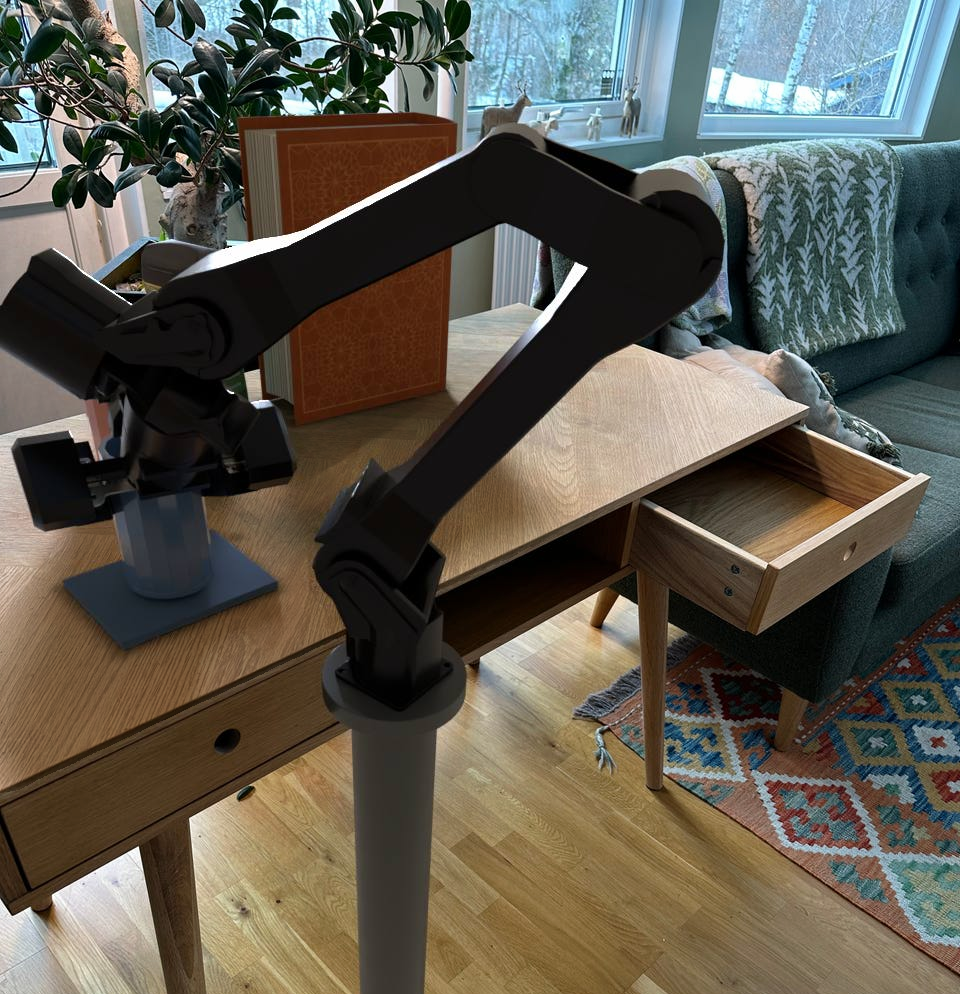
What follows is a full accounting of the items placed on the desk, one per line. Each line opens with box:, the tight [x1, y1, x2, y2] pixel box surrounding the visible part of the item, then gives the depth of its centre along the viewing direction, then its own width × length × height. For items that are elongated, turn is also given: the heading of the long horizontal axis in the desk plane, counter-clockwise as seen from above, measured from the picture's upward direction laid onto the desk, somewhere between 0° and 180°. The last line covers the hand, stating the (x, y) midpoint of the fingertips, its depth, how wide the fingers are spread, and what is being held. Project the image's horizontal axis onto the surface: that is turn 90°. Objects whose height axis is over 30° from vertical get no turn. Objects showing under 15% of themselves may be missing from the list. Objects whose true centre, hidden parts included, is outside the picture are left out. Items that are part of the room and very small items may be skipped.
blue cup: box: [98, 433, 214, 599], centre depth 71 cm, size 7×7×12 cm
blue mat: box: [61, 528, 279, 651], centre depth 75 cm, size 14×11×1 cm
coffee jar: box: [140, 238, 250, 401], centre depth 98 cm, size 10×8×19 cm
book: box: [236, 111, 459, 426], centre depth 102 cm, size 23×8×30 cm, turn 129°
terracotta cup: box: [82, 399, 111, 461], centre depth 89 cm, size 7×7×11 cm
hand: (154, 498), depth 71 cm, fingers closed on blue cup, 7 cm apart
